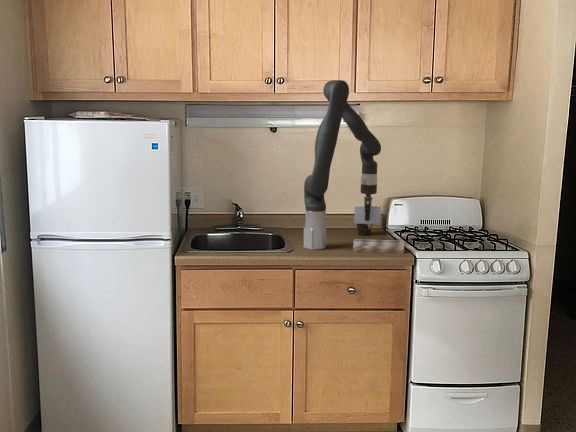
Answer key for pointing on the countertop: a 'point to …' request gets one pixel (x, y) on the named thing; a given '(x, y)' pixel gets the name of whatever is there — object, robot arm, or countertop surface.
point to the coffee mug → (364, 229)
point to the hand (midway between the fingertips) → (367, 219)
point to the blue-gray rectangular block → (374, 215)
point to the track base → (378, 246)
